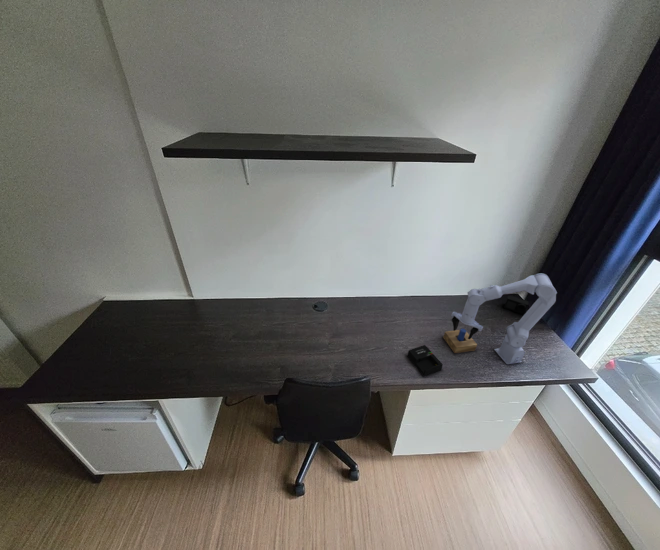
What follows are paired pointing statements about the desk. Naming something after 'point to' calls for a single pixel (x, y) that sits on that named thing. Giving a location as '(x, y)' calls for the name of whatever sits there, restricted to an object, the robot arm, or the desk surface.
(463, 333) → the handle
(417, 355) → the battery charger
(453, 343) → the holder
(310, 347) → the desk surface
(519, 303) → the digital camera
